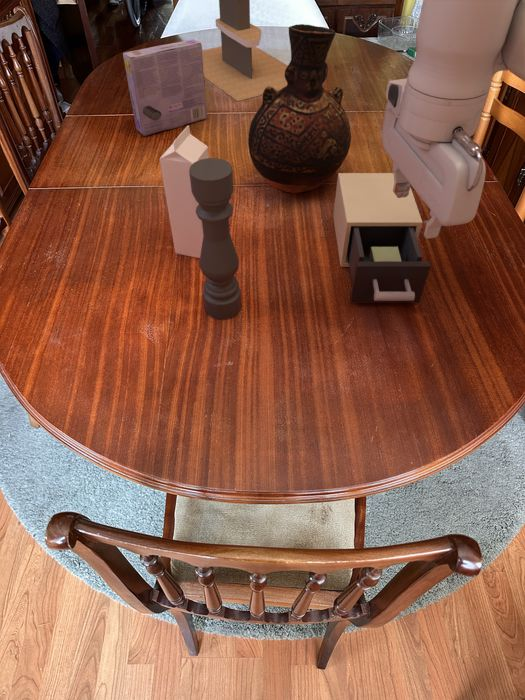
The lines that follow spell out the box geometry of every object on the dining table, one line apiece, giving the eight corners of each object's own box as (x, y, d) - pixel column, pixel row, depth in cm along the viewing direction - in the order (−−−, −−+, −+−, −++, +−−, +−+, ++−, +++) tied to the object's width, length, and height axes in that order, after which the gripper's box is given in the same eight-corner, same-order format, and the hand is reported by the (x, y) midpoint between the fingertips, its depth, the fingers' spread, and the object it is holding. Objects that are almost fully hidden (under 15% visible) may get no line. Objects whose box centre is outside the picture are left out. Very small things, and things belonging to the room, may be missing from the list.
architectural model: (313, 80, 145) (319, -1, 130) (237, 101, 137) (234, 17, 122) (245, 40, 167) (243, -33, 152) (176, 56, 158) (166, -20, 143)
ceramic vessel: (256, 211, 103) (253, 49, 80) (243, 167, 114) (237, 14, 92) (355, 201, 105) (380, 40, 83) (333, 159, 117) (350, 7, 94)
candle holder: (238, 291, 87) (231, 155, 69) (244, 317, 83) (237, 179, 65) (202, 296, 87) (185, 159, 68) (206, 321, 83) (188, 183, 64)
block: (392, 267, 88) (397, 246, 85) (397, 284, 86) (402, 263, 82) (367, 267, 88) (371, 246, 85) (370, 284, 86) (374, 263, 82)
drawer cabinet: (410, 267, 92) (422, 222, 84) (340, 267, 92) (347, 222, 84) (395, 216, 102) (405, 172, 94) (333, 216, 102) (338, 172, 95)
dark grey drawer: (424, 321, 81) (436, 284, 76) (353, 321, 81) (360, 284, 76) (403, 248, 94) (413, 212, 88) (342, 248, 94) (347, 212, 88)
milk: (175, 253, 94) (154, 139, 78) (187, 235, 98) (170, 121, 81) (205, 259, 93) (191, 144, 76) (217, 240, 97) (206, 126, 80)
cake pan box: (203, 110, 133) (196, 35, 120) (212, 118, 130) (206, 41, 117) (135, 130, 126) (120, 52, 113) (143, 138, 124) (129, 59, 110)
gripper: (515, 151, 51) (472, 258, 62) (428, 72, 64) (405, 172, 75) (457, 158, 50) (424, 266, 61) (382, 77, 63) (365, 177, 74)
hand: (413, 214), depth 68 cm, fingers open, 8 cm apart
